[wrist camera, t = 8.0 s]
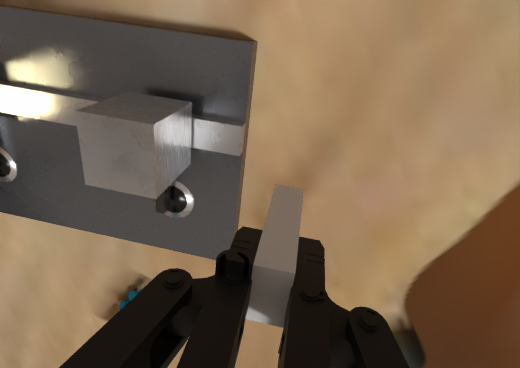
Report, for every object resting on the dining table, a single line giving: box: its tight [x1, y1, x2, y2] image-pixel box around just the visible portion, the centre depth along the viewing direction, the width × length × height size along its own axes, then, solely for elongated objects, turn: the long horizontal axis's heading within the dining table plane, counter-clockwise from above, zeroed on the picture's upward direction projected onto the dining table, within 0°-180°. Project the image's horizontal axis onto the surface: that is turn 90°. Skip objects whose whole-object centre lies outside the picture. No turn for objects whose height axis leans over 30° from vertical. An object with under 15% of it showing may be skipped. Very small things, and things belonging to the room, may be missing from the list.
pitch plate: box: [0, 5, 257, 260], centre depth 27 cm, size 30×20×8 cm, turn 83°
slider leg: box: [75, 92, 192, 214], centre depth 24 cm, size 5×10×6 cm, turn 173°
